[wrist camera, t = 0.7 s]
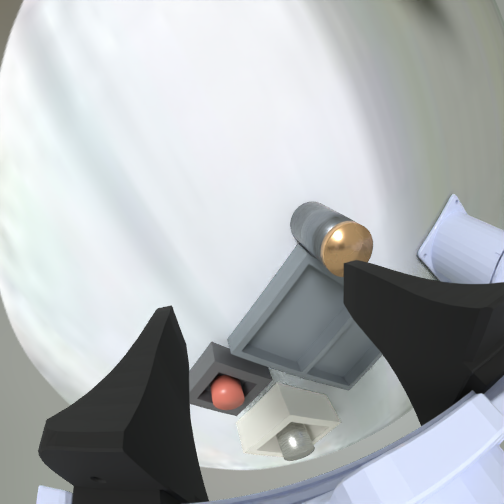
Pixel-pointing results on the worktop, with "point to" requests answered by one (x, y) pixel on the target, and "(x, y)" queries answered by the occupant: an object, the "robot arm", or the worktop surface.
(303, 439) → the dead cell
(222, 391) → the tester button
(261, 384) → the box
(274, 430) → the cup
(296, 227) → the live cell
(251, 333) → the tray
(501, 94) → the worktop surface
